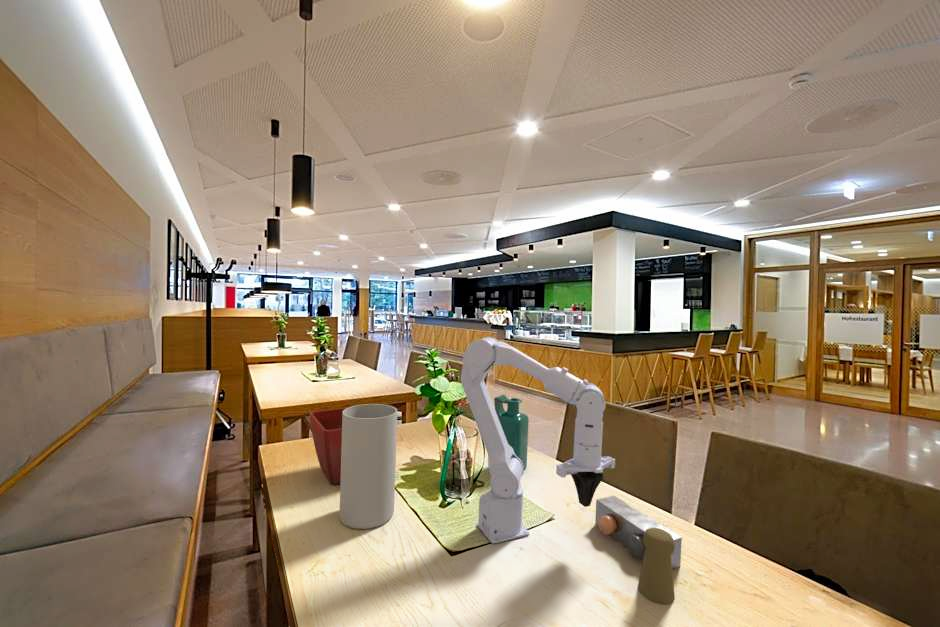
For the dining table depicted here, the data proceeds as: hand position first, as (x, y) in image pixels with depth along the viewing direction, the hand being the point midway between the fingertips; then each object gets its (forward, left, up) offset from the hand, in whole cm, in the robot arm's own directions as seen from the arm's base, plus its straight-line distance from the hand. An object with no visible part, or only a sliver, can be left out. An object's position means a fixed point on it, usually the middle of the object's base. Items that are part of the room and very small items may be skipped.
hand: (584, 504), depth 84 cm
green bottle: (+5, +40, -9) cm, 41 cm away
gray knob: (+9, -8, -8) cm, 14 cm away
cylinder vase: (-41, +28, -9) cm, 50 cm away
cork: (+3, -16, -9) cm, 19 cm away
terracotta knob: (+9, 0, -8) cm, 12 cm away
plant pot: (-42, +53, -9) cm, 68 cm away
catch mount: (+11, -4, -9) cm, 14 cm away
